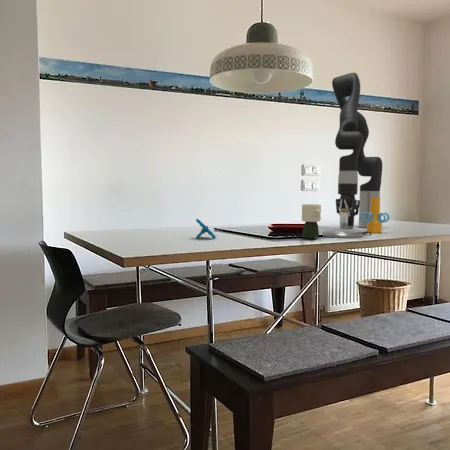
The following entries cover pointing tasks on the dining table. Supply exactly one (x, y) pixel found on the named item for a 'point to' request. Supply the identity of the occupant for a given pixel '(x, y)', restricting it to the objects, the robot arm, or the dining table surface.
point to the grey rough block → (344, 219)
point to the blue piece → (204, 229)
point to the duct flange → (342, 234)
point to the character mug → (311, 220)
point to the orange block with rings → (374, 216)
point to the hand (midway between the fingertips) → (346, 225)
